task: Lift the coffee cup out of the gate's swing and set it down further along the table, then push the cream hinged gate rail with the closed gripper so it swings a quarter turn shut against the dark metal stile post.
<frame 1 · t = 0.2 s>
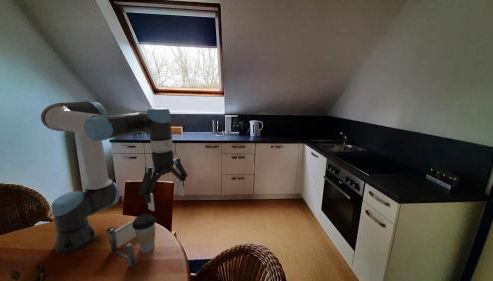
hand: (167, 201, 85), 27 cm above the table, fingers open, 13 cm apart
stile post: (132, 265, 89), on the table
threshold: (125, 257, 93), on the table
coffee cup: (147, 248, 99), on the table
hinge post: (113, 250, 97), on the table
gate: (130, 230, 103), point 5 cm above the table, hinge at 90.0°
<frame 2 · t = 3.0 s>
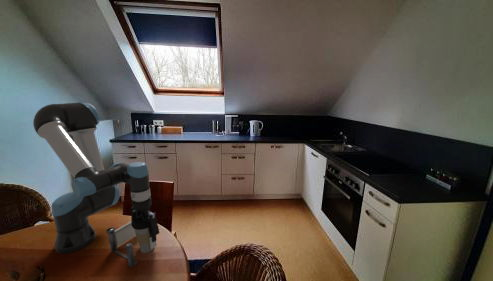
hand: (147, 243, 98), 2 cm above the table, fingers closed on coffee cup, 8 cm apart
coffee cup: (147, 248, 99), on the table, touching gripper
everything else where it was.
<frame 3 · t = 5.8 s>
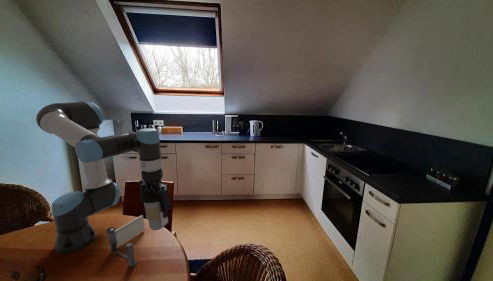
hand: (157, 220, 89), 18 cm above the table, fingers closed on coffee cup, 8 cm apart
coffee cup: (157, 226, 90), point 15 cm above the table, touching gripper
everything else where it was.
when the fingers open (3 cm above the table, at t = 8.7 s): coffee cup stays where it is, on the table.
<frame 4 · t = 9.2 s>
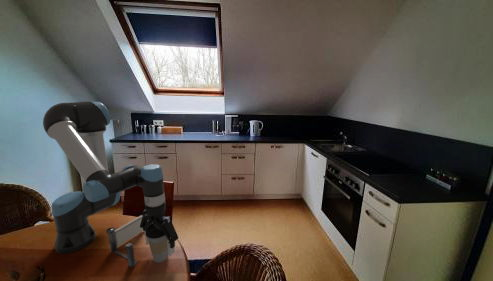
hand: (160, 248, 92), 5 cm above the table, fingers open, 13 cm apart
coffee cup: (160, 257, 93), on the table
everything else where it was.
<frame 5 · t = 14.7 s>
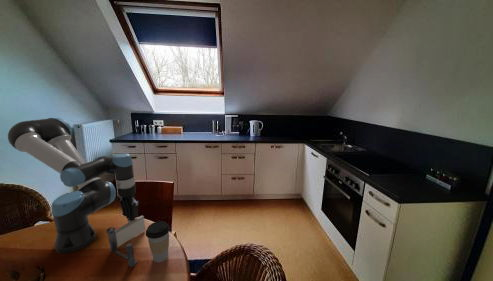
hand: (132, 229, 108), 2 cm above the table, fingers closed
gate: (130, 230, 103), point 5 cm above the table, hinge at 87.9°, touching gripper
everything else where it was.
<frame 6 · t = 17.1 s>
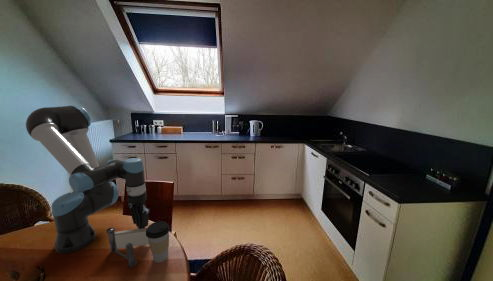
hand: (142, 238, 102), 2 cm above the table, fingers closed
gate: (133, 238, 98), point 5 cm above the table, hinge at 40.6°, touching gripper
everything else where it was.
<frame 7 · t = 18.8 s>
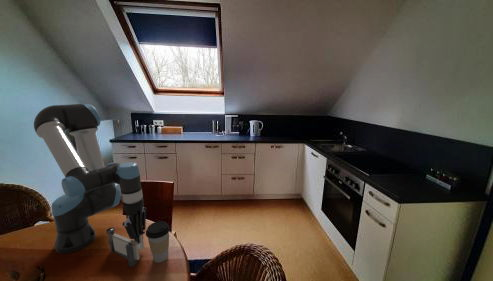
hand: (140, 248, 95), 2 cm above the table, fingers closed
gate: (125, 246, 93), point 5 cm above the table, hinge at 4.0°, touching gripper
everything else where it was.
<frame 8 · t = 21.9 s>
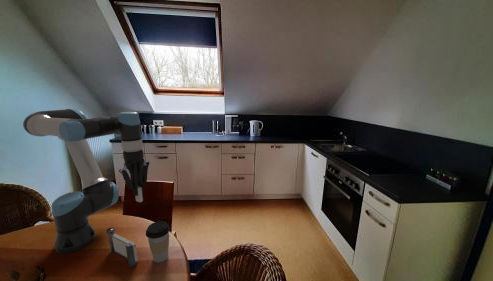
hand: (139, 200, 95), 22 cm above the table, fingers closed
gate: (124, 247, 92), point 5 cm above the table, hinge at 0.5°
everything else where it was.
at the end: gate at +0° (first picture: +90°); coffee cup inside the target area (0.2 cm from its centre), on the table; coffee cup tilted 0° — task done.
